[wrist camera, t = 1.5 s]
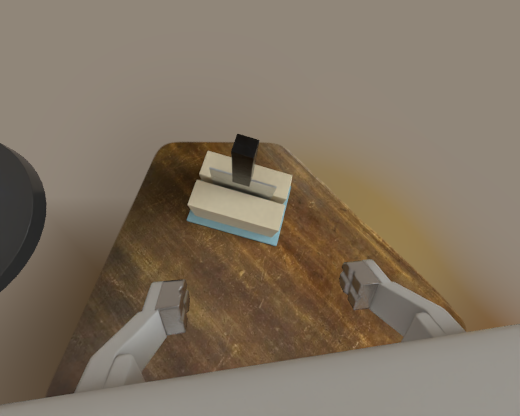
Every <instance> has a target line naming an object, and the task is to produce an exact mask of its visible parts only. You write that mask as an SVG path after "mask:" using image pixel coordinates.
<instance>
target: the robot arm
mask: <svg viewBox="0 0 520 416" xmlns="http://www.w3.org/2000/svg"><path fill="white" fill-rule="evenodd" d="M342 269H343V272H342V273H341V274H340V278H339V280H340V286H341V288H342V290H343V292H344V293H346V294H347V295H348V301H349V303H350V304H351V306H352V308H353V310H359V309H369V308H370V310H371V311H372V312H373V313H375V314H376V315H377V316H378V317H380V318H381V319H382V320H384V321H385V322H386V323H387V324H389V325H390V326H391V327H392V328H394V329H395V330H396V331H397V332H399V333H400V334H401V335H402V336H404V337H403V339H402V341H401V343H395V344H388V345H382V346H375V347H369V348H363V349H356V350H350V351H343V352H337V353H331V354H324V355H318V356H311V357H305V358H299V359H292V360H286V361H279V362H273V363H267V364H260V365H254V366H247V367H241V368H235V369H228V370H222V371H215V372H209V373H202V374H196V375H190V376H183V377H177V378H170V379H164V380H157V381H151V382H146V381H145V379H144V377H143V375H142V373H141V372H142V371H143V369H144V368H145V366H146V365H147V364H148V362H149V361H150V359H151V358H152V357H153V355H154V354H155V352H156V351H157V350H158V348H159V347H160V345H161V344H162V343H163V341H164V340H165V338H166V337H167V335H172V334H179V333H185V332H186V327H187V320H188V319H187V314H186V313H187V312H188V311H189V303H190V298H189V291H188V290H186V288H187V283H186V280H185V279H183V280H170V281H161V282H153V283H152V284H151V286H150V289H149V292H148V295H147V298H146V300H145V303H144V306H143V309H142V312H138V313H137V314H136V315H135V316H134V317H133V318H132V319H131V320H130V321H129V322H128V323H126V324H125V325H124V326H123V327H122V328H121V329H120V330H119V331H118V332H117V333H116V334H115V335H114V336H113V337H112V338H111V339H110V340H109V341H108V342H107V343H105V344H104V345H103V346H102V347H101V348H100V349H99V350H98V351H97V352H96V353H95V354H94V355H93V356H92V357H91V358H90V360H89V362H88V364H87V366H86V368H85V371H84V373H83V375H82V377H81V379H80V381H79V383H78V385H77V388H76V390H75V392H74V394H67V395H61V396H54V397H48V398H41V399H35V400H28V401H23V402H16V403H9V404H3V405H0V416H520V324H516V325H510V326H504V327H497V328H491V329H485V330H479V331H472V332H466V331H465V330H464V329H463V328H462V327H461V326H460V325H459V324H458V323H457V322H456V321H455V320H454V319H453V318H452V316H451V315H450V314H449V313H448V312H447V311H446V310H445V309H444V308H442V307H440V306H438V305H436V304H434V303H432V302H431V301H429V300H427V299H425V298H423V297H421V296H419V295H418V294H416V293H414V292H412V291H410V290H408V289H406V288H405V287H403V286H401V285H399V284H397V283H395V282H391V281H390V280H389V279H388V277H387V276H386V275H385V274H384V273H383V271H382V270H381V269H380V268H379V267H378V265H377V264H376V263H375V262H374V261H373V260H371V259H370V260H362V261H352V262H344V263H343V265H342Z"/></svg>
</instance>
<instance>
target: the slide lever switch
mask: <svg viewBox="0 0 520 416" xmlns="http://www.w3.org/2000/svg"><path fill="white" fill-rule="evenodd" d="M209 167H212V168H215V169H219V170H222V171H225V172H229V173H232V158H231V157H228V156H224V155H221V154H217V153H214V152H211V151H208V152H207V154H206V157H205V159H204V162H203V165H202V167H201V170H200V173H199V175H200V177H201V181H200V180H197V181H196V183H195V186H194V188H193V191H192V194H191V196H190V199H189V202H188V204H187V205H188V206H189V208H190V209H191V210H190V212H189V215H188V218H187V221H189V222H192V223H196V224H199V225H203V226H206V227H210V228H213V229H217V230H220V231H224V232H227V233H231V234H235V235H238V236H242V237H245V238H249V239H252V240H256V241H259V242H263V243H266V244H270V245H273V246H276V245H277V241H278V237H279V233H280V229H281V225H282V221H283V217H284V213H285V209H286V205H287V201H288V197H289V193H290V189H291V186H290V184H291V180H292V175H289V174H286V173H282V172H279V171H275V170H272V169H268V168H265V167H262V166H258V165H255V168H254V173H253V177H252V179H253V180H256V181H260V182H263V183H266V184H270V185H273V186H277V188H276V190H275V192H274V194H273V196H272V198H271V200H270V201H269V200H266V199H262V198H259V197H255V196H252V195H248V194H245V193H242V192H238V191H235V190H231V189H228V188H224V187H221V186H217V185H214V184H213V182H212V178H211V174H210V170H209Z"/></svg>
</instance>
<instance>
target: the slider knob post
mask: <svg viewBox="0 0 520 416" xmlns="http://www.w3.org/2000/svg"><path fill="white" fill-rule="evenodd" d="M258 146H259V140H257V139H253V138H250V137H247V136H243V135H240V134H237V136H236V139H235V142H234V145H233V148H232V151H231V155H232V173H229V172H225V171H222V170H219V169H215V168H212V167H209V170H210V174H211V178H212V182H213V184H214V185H217V186H221V187H224V188H228V189H231V190H235V191H238V192H242V193H245V194H248V195H252V196H255V197H259V198H262V199H266V200H269V201H270V200H271V198H272V196H273V194H274V192H275V190H276V188H277V186H273V185H270V184H266V183H263V182H260V181H256V180H253V179H252V177H253V173H254V168H255V162H256V157H257V151H258Z"/></svg>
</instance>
